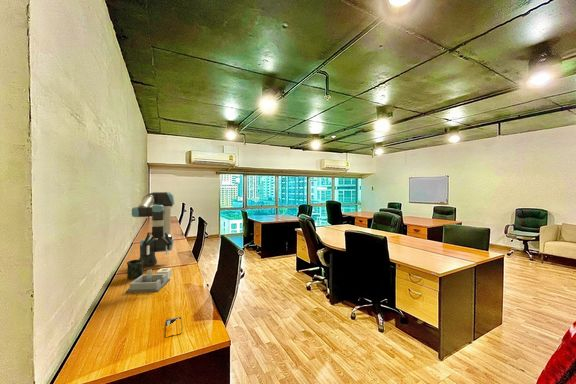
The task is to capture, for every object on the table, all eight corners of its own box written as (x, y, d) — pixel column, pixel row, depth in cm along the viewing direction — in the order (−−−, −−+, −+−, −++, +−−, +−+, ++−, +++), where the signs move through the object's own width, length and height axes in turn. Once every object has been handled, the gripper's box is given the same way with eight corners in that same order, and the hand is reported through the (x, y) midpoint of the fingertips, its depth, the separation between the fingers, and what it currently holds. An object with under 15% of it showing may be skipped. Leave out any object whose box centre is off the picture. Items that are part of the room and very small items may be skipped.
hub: (167, 279, 176) (167, 271, 176) (156, 280, 175) (156, 271, 175) (174, 273, 189) (174, 266, 189) (163, 273, 188) (163, 266, 188)
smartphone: (164, 337, 107) (165, 320, 121) (164, 339, 107) (165, 321, 121) (182, 333, 110) (181, 316, 124) (182, 335, 110) (181, 318, 124)
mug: (144, 273, 188) (144, 258, 188) (141, 280, 175) (141, 263, 175) (128, 275, 184) (128, 260, 184) (124, 282, 171) (124, 265, 170)
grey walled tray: (141, 281, 173) (141, 273, 173) (170, 280, 175) (170, 273, 175) (125, 292, 153) (125, 284, 153) (158, 291, 156) (158, 283, 156)
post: (148, 283, 166) (148, 269, 166) (152, 283, 166) (152, 269, 166) (146, 285, 163) (146, 270, 163) (150, 285, 163) (150, 270, 163)
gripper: (137, 226, 171) (137, 256, 171) (173, 226, 173) (172, 255, 173) (142, 225, 179) (142, 253, 179) (177, 225, 181) (176, 252, 181)
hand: (157, 254), depth 176 cm, fingers open, 13 cm apart
